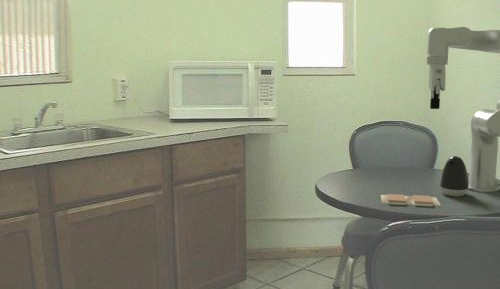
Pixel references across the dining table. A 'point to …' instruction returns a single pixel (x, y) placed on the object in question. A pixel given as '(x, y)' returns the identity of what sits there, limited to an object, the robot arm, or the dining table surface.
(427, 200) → the tile
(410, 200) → the cork mat
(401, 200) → the tile
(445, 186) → the black rounded dome
